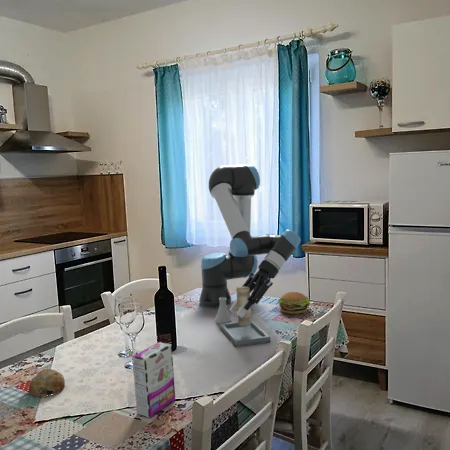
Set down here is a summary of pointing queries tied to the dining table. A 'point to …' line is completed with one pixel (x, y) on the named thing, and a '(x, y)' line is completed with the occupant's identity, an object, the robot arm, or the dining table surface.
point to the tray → (245, 334)
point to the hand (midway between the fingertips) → (235, 313)
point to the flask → (223, 313)
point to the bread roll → (46, 383)
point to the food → (294, 303)
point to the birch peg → (241, 298)
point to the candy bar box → (153, 379)
